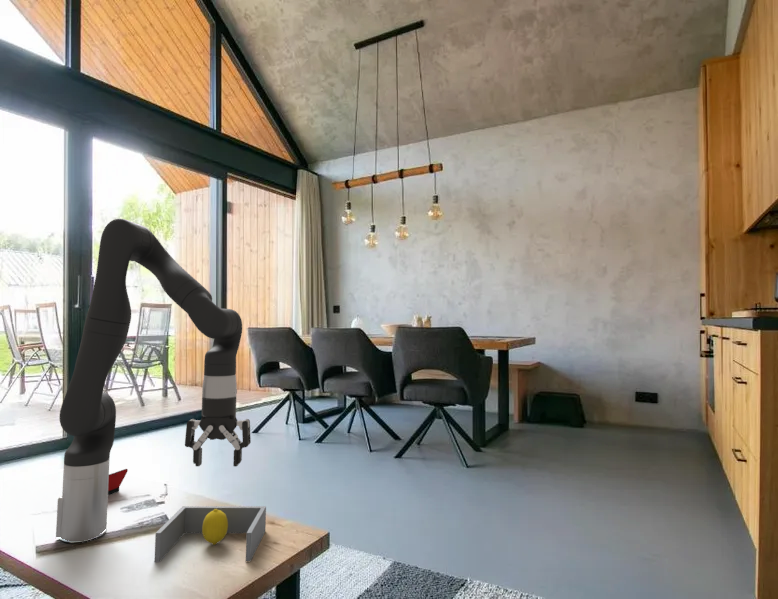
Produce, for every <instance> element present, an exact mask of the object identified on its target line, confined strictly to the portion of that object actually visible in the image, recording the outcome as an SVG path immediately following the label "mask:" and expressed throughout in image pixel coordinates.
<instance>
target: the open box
mask: <svg viewBox="0 0 778 599" xmlns="http://www.w3.org/2000/svg"><path fill="white" fill-rule="evenodd" d="M214 509H218V510H221V511H222V512H224V513H225V515H226V517H227V520H228V529H227V533H226V534H245V535H246V536H245V539H246V540H245V541H246V542H245V562H246V561H250V562H251V561H252V559H253V558H254V555H255V553H256V551H257V549H258V547H259V545H260V543H261V541H262V539H263V537H264V535H265V533H266V521H267V518H266V517H267V506H266V505H265V506H264V505H261V506H260V505H259V506H258V505H251V506H250V505H246V506H244V505H243V506H241V505H238V506H236V505H235V506H234V505H231V506H230V505H229V506H228V505H227V506H225V505H224V506H223V505H221V506H220V505H219V506H217V505H214V506H213V505H210V506H209V505H208V506H207V505H206V506H204V505H203V506H199V505H198V506H197V505H195V506H193V505H191V506H190V505H187V506H186V505H185V506H181V507H180V508H179V509H178V510H177V511H176V512H175V513H174V514H173V515H172V516H171V517H170V518H169V519H168V520H167V521H166V522H165V523H164V524H163V525H162V526H161V527H160V528H159V529H158V530H157V531H156V532H155V537H154V538H155V542H154V561H153V562H154V563H160V562H161V561H162V560H163V558H165V556H166V555H167V554H168V553H169V552H170V550H171V549H172V548H173V547H174V546H175V545H176V544H177V542H179V541H180V539H181V538H182V537H183V536H184V534H203V533H202V526H203V521H204V519H205V517H206V515H207V514H208V513H209V512H211V511H213V510H214Z"/></svg>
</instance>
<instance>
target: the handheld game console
mask: <svg viewBox="0 0 778 599" xmlns="http://www.w3.org/2000/svg"><path fill="white" fill-rule="evenodd" d="M128 471H129V470H128V468H125V469H121V470H118V471H115V472H113V473H112V472H111V473H109V482H108V496H110V495H113V494H116V493H119V492H120V486H121V484H122V483H123V481H124V479H125V477H126V475H127V473H128Z"/></svg>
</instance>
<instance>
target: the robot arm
mask: <svg viewBox="0 0 778 599" xmlns="http://www.w3.org/2000/svg"><path fill="white" fill-rule="evenodd" d="M99 242H100V243H99V247H98V248H99V249H98V257H97V266H96V272H95V273H96V274H95V279H94V284H93V288H92V293H91V297H90V303H89V307H88V311H87V312H86V317H85V321H84V324H83V329H82V336H81V340H80V344H79V348H78V353H77V356H76V361H75V365H74V370H73V372H72V376H71V379H70V382H69V385H68V387H67V390H66V392H65V395H64V398H63V400H62V401H63V402H62V403H61V407H60V410H59V424H60V426H61V428H62V431H63V432H65V433H66V434H68V435H70V436H73V440H72V441H71V443H70V445H69V446H68V448H67V449H66V450H65V452H64V455H63V456H64V457H63V471H62V472H63V475H62V476H63V477H62V491H61V492H62V495H61V496H59V497H58V499H57V507H56V508H57V509H56V525H55V527H56V528H55V538H56V537H61V538H62V539H65V540H67V541H68V540H69V541H84V540H88V539H91V538H94V537H96V536H97V535H99V534H100V533H102V532H103V531H104V530H105V529H106V530H107V524H108V523H107V522H108V521H107V520H108V504H109V503H108V502H109V500H108V499H109V495H108V482H109V474H110V454H111V450H112V448H113V445H114V441H115V434H116V432H115V431H116V423H117V422H116V419H117V408H116V403H115V401H114V399H113V397H111V395H109V394H108V393H107V392H105V391H104V388H105V385H106V384H105V383H106V380H107V378H108V376H109V372H110V371H111V369H112V367H113V366H114V364H115V363H116V360H117V359H118V357H119V356H120V353H121V352H122V351H123V349H124V346H125V344H126V342H127V339H128V338H127V337H128V334H129V329H130V325H131V321H132V308H131V303H130V298H129V295H128V288H127V273H128V270H129V265H130V264H129V263H130V262H134V263H137V264H139V265H140V266H142V267H143V268H145V269H146V270H148V271H149V272H150V273H152V274H153V275H154V277H155V278H156V279H157V280H158V282H159V284H160V286H161V287H162V289H163V291H164V293H165V294H166V295H167V296H168V297H169V299H171V300H172V301H173V302H174V303H175V304H176V305H177V306H179V308H181V309H182V310H183V311H184V312H185V313H187V315H188V317H189V319H190V320H191V321H192V323H193V325H194V326H195V327H196V328H197V330H198V331H199V332H200V333H201V334H203V335H204V336H206V337H207V338H209V339H213V342H212V347H211V348H210V349H208V350H207V351H206V352H205V355H204V361H203V364H204V365H203V368H204V370H203V381H202V386H201V387H202V390H201V391H202V392H201V418H200V420H198V419H197V420H196V419H195V418H192V419H191V418H190V420H188V421H187V422H186V425H185V426H186V428H185V438H184V439H185V440H184V446H185V447H186V448H189V449H192V455H193V456H192V463H193V465H194V464H195V467H200V466H202V462H203V447H202V446H203V445H204V443H205V442H206V441H207V440H208V439H209V440H210V441H211V440H214V441H215V440H221V441H222V440H223V441H224V440H227V441H228V443H230V445H232V447H233V448H234V450H233V461H232V462H233V467H238V466H239V464H240V463H241V462H242V460H243V448H248V447H249V445H250V444H251V441H252V440H251V439H252V438H251V421H250V419H248V418H246V419H244V420H243V419H242V420H241V419H240V420H238V419H237V394H238V389H237V388H238V386H237V385H238V384H237V383H238V382H237V354H238V352H239V347H240V344H241V343H240V342H241V338H242V335H243V321H242V318H241V316H240V314H239V313H238V312H237V311H236V310H234V309H231V308H220V306H218V305H216V304H215V303H214V302H213V295H212V294H211V293H210V291H209V290H207V288H205V287H204V286H203V285H202V284H201V283H200V282H199V281H197V280H196V279H195V278H194V277H193V276H192V275H191V274H190V273H188V272H187V271H186V270H185V269H184V268H183V267H182V266H181V265H180V264H179V263H178V262H177V261H176V260H175V259H174V258H173V257H172V256H171V254H170V253H169V252H168V251H167V250H166V248H165V247H164V246H163V244H162V243H161V242H160V240H159V239H158V238H157V236H156V235H154V233H153V232H152V231H151V229H149V228H147V227H146V226H144V225H142V224H139V223H136V222H134V221H131V220H128V219H125V218H115V219H113V220H111V221H109V222H108V223H107V224H106V226H105V227H104V229H103V231H102V234H101V237H100V241H99ZM237 426H238V427H239V430H241V431H242V432H241V433H242V434H241V435H242V441H241V439H240V437H239V436H238V434H237V432H236V431H235V429H236V428H237ZM199 427H200V430H201V431H203V432H202V434H201V435H200V436H199V438H198V439H197V440H195V434H196V430H197V429H198V428H199Z"/></svg>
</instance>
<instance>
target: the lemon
mask: <svg viewBox="0 0 778 599" xmlns="http://www.w3.org/2000/svg"><path fill="white" fill-rule="evenodd" d="M227 529H228V520H227V517H226V515H225V513H224V512H222V511H221V510H218V509H214V510H213V511H211V512H209V513H208V514H207V515H206V517H205V519H204V521H203V526H202V533H201V534H202V536H203V538H204V540H205V542H208V543H209V544H211V545H213V546H216V545H217V544H218V543H219V542H222V540H223V539H224V538H225V537H226V535H227V534H228V533H227Z"/></svg>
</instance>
